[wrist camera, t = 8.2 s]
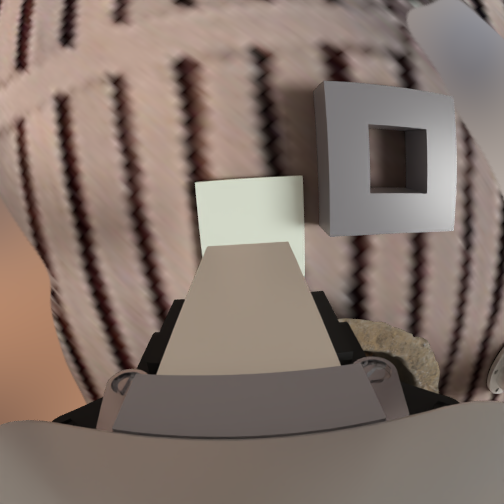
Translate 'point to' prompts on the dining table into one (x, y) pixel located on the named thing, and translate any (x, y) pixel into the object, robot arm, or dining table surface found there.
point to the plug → (248, 358)
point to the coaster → (252, 212)
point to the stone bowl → (398, 352)
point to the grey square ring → (358, 159)
